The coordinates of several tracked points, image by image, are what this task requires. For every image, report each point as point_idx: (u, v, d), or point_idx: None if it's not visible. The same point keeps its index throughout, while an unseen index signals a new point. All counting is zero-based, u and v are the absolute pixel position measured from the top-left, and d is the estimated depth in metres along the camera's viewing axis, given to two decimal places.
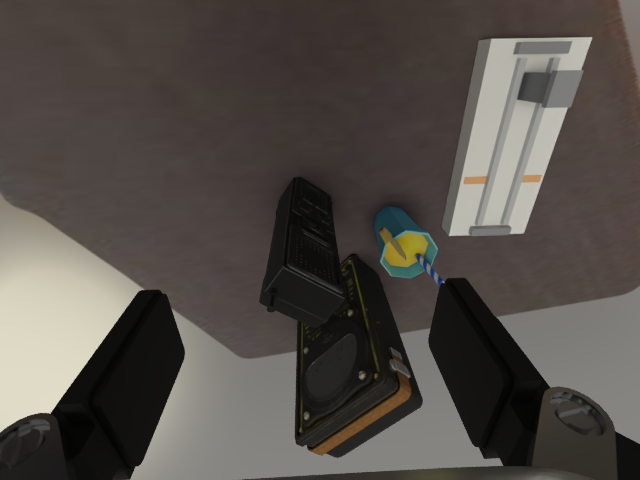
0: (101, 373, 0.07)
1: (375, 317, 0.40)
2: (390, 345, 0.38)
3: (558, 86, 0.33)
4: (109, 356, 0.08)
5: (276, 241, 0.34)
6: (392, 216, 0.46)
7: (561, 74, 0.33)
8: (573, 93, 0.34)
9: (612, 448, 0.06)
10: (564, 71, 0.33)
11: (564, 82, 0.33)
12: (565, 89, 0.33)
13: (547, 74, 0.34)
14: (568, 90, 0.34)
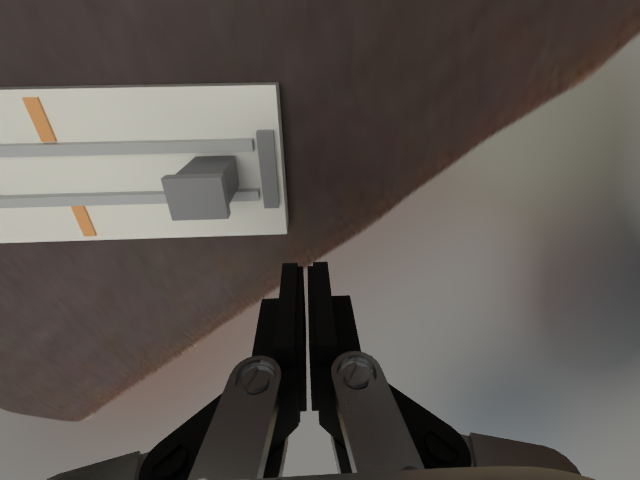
0: (294, 325, 0.08)
1: None
2: None
3: (198, 188, 0.19)
4: (291, 313, 0.09)
5: None
6: None
7: (216, 186, 0.19)
8: (192, 216, 0.20)
9: (385, 383, 0.07)
10: (221, 189, 0.19)
11: (205, 196, 0.19)
12: (196, 201, 0.20)
13: (220, 172, 0.20)
14: (195, 207, 0.20)
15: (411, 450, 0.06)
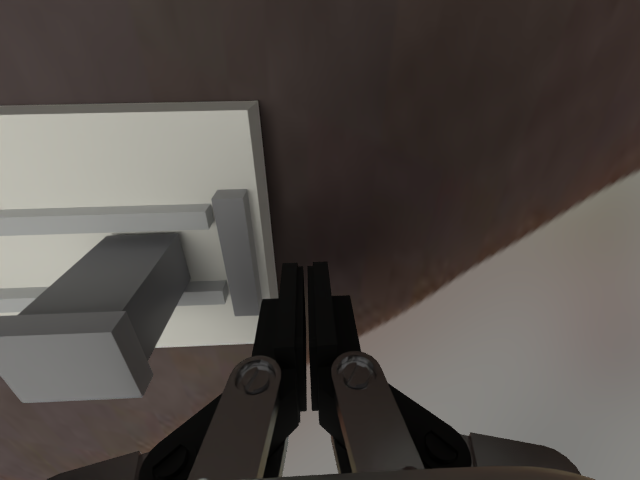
0: (294, 325, 0.08)
1: None
2: None
3: (63, 351, 0.09)
4: (291, 313, 0.09)
5: None
6: None
7: (103, 347, 0.08)
8: (65, 395, 0.09)
9: (385, 383, 0.07)
10: (117, 352, 0.09)
11: (82, 363, 0.09)
12: (65, 373, 0.09)
13: (128, 297, 0.10)
14: (66, 381, 0.09)
15: (411, 450, 0.06)
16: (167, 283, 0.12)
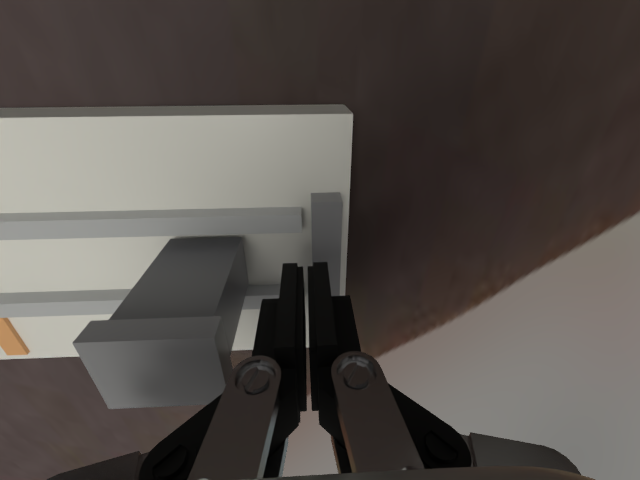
0: (295, 325, 0.08)
1: None
2: None
3: (162, 356, 0.08)
4: (291, 313, 0.09)
5: None
6: None
7: (203, 352, 0.08)
8: (153, 401, 0.09)
9: (385, 383, 0.07)
10: (215, 358, 0.09)
11: (178, 369, 0.09)
12: (158, 378, 0.09)
13: (215, 302, 0.10)
14: (158, 387, 0.09)
15: (411, 450, 0.06)
16: (236, 287, 0.12)
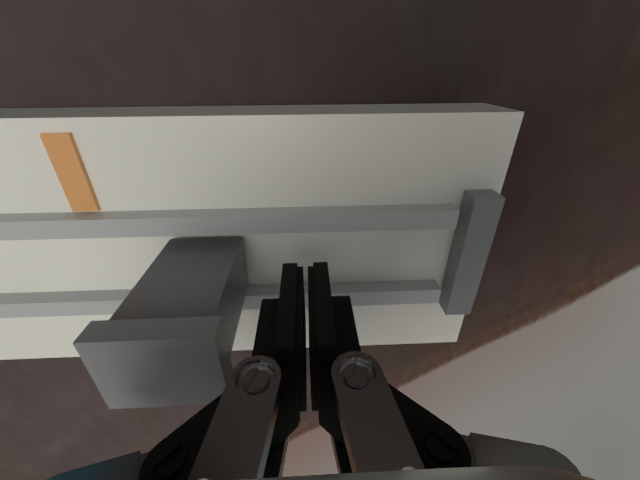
0: (295, 325, 0.08)
1: None
2: None
3: (162, 356, 0.08)
4: (291, 313, 0.09)
5: None
6: None
7: (203, 352, 0.08)
8: (154, 401, 0.09)
9: (385, 383, 0.07)
10: (215, 358, 0.09)
11: (178, 369, 0.09)
12: (159, 378, 0.09)
13: (215, 302, 0.10)
14: (158, 387, 0.09)
15: (411, 450, 0.06)
16: (237, 287, 0.12)
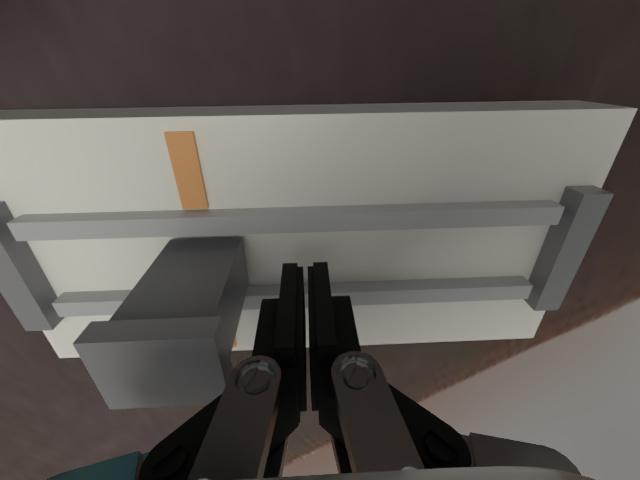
0: (294, 325, 0.08)
1: None
2: None
3: (162, 357, 0.08)
4: (291, 313, 0.09)
5: None
6: None
7: (203, 353, 0.08)
8: (154, 401, 0.09)
9: (385, 383, 0.07)
10: (215, 358, 0.09)
11: (178, 369, 0.09)
12: (159, 379, 0.09)
13: (215, 302, 0.10)
14: (158, 387, 0.09)
15: (411, 450, 0.06)
16: (236, 287, 0.12)
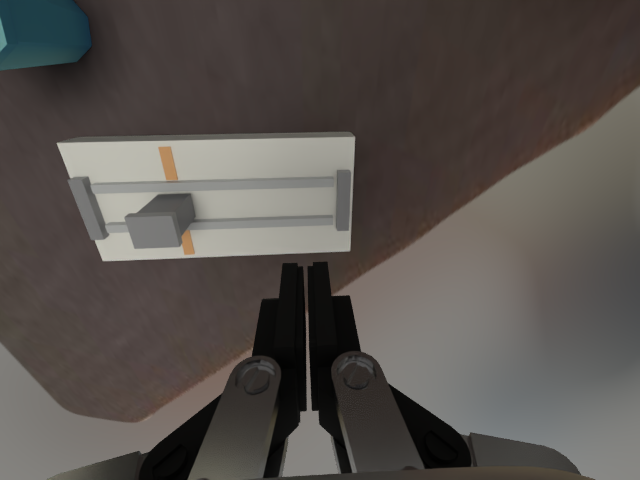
0: (294, 325, 0.08)
1: None
2: None
3: (154, 224, 0.25)
4: (291, 313, 0.09)
5: None
6: (53, 1, 0.22)
7: (168, 222, 0.25)
8: (150, 245, 0.25)
9: (385, 383, 0.07)
10: (172, 224, 0.25)
11: (160, 229, 0.25)
12: (153, 234, 0.25)
13: (174, 210, 0.26)
14: (152, 238, 0.25)
15: (411, 450, 0.06)
16: (186, 212, 0.28)
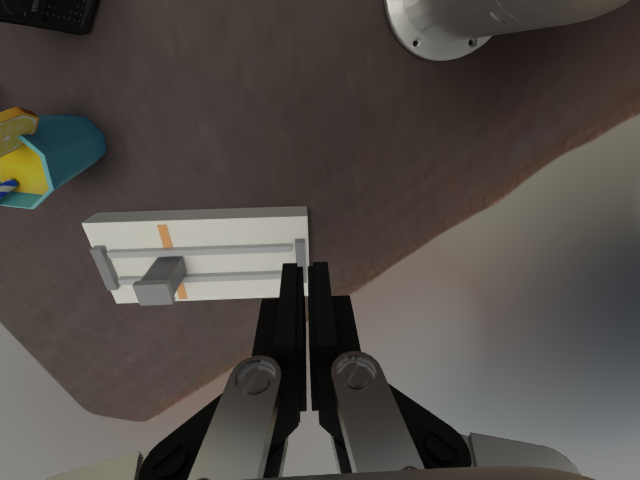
0: (294, 325, 0.08)
1: None
2: None
3: (154, 289, 0.34)
4: (291, 313, 0.09)
5: None
6: (80, 137, 0.30)
7: (164, 288, 0.34)
8: (152, 303, 0.34)
9: (385, 383, 0.07)
10: (167, 289, 0.34)
11: (158, 293, 0.34)
12: (153, 296, 0.34)
13: (168, 276, 0.35)
14: (153, 298, 0.34)
15: (411, 450, 0.06)
16: (179, 273, 0.37)
